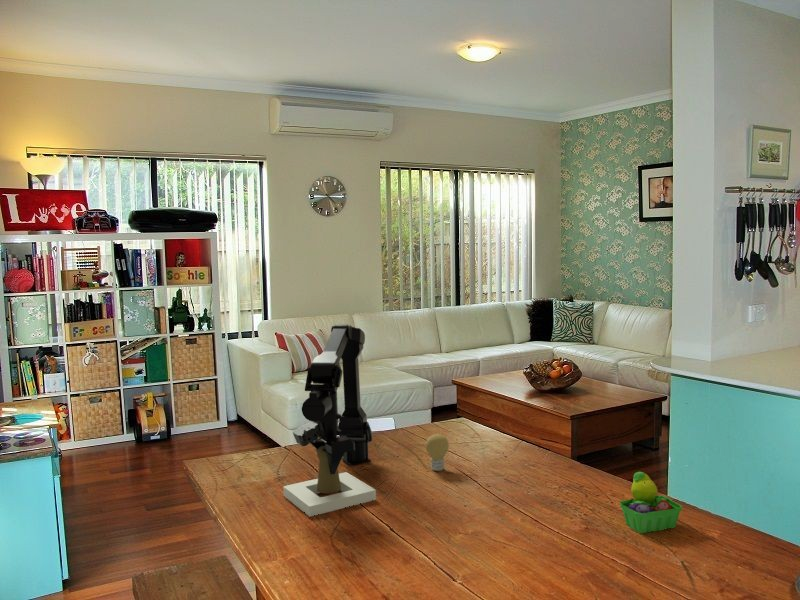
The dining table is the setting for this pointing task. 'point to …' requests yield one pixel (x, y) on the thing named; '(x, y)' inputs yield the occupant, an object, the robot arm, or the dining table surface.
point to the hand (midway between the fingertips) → (328, 471)
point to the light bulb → (437, 450)
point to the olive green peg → (326, 475)
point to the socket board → (314, 505)
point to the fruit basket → (649, 507)
